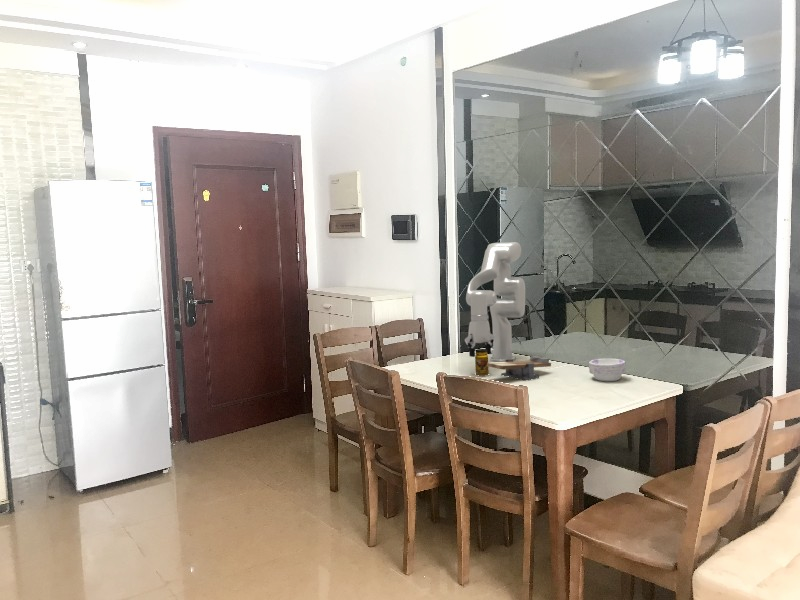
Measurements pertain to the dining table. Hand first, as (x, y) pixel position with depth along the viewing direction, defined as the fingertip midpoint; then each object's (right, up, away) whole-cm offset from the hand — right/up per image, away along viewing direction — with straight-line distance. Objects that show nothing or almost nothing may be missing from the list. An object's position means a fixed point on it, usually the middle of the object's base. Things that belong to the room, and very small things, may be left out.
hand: (480, 355), depth 302 cm
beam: (+17, -4, -7) cm, 19 cm away
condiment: (+1, -9, +2) cm, 9 cm away
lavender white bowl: (+53, -9, -19) cm, 57 cm away
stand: (+17, -9, -7) cm, 21 cm away
